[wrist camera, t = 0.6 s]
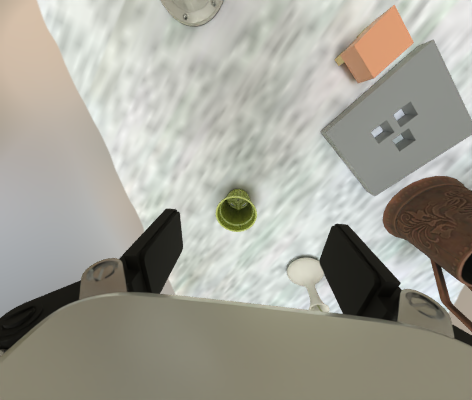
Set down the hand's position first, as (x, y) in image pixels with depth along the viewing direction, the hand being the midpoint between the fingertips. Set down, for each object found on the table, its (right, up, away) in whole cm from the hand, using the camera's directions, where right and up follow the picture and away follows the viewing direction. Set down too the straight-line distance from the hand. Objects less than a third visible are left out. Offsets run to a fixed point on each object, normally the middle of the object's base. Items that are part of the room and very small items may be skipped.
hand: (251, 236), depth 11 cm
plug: (+22, +29, +21) cm, 42 cm away
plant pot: (0, +3, +36) cm, 36 cm away
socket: (+32, +17, +26) cm, 45 cm away
